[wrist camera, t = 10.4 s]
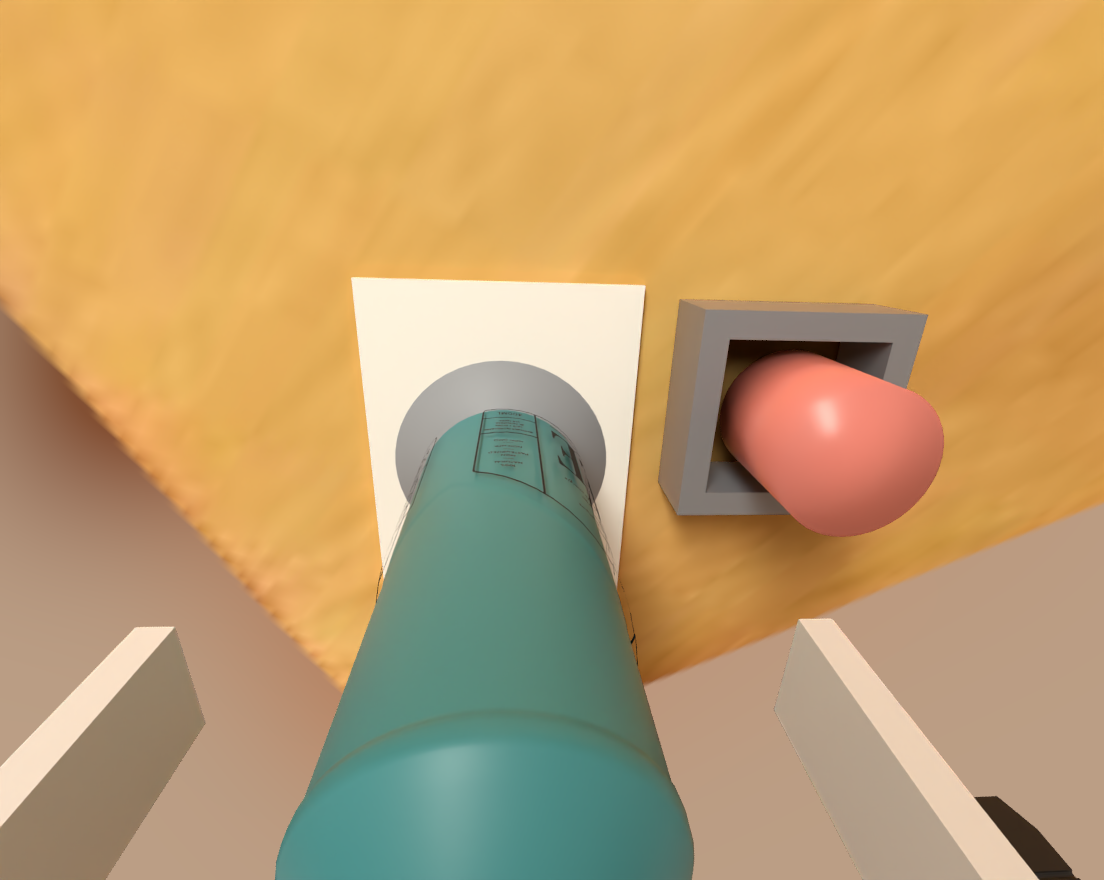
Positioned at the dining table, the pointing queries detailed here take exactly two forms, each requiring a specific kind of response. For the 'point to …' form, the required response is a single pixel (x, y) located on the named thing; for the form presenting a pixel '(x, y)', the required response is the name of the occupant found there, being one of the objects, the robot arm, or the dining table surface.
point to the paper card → (498, 377)
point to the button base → (698, 371)
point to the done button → (831, 441)
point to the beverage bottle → (494, 691)
